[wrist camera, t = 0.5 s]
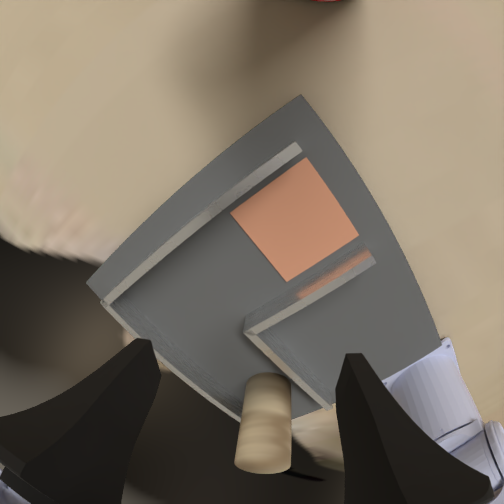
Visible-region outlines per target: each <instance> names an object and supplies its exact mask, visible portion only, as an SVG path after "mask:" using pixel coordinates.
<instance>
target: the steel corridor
mask: <svg viewBox="0 0 504 504" xmlns="http://www.w3.org/2000/svg"><path fill="white" fill-rule="evenodd" d="M301 152H302V149H301V148H300V147H299V145H298V144H297V143H296V141H294V140H293V141H292V142H290V143H289V144H287V145H286V146H285V147H283V148H282V149H281V150H279V151H278V152H276V153H275V154H274V155H272V156H271V157H270V158H268V159H267V160H266V161H264V162H263V163H262V164H260V165H259V166H258V167H256V168H255V169H254V170H252V171H251V172H250V173H248V174H247V175H246V176H244V177H243V178H242V179H240V180H239V181H238V182H237V183H235V184H234V185H233V186H231V187H230V188H229V189H228V190H226V191H225V192H224V193H222V194H221V195H220V196H219V197H217V198H216V199H215V200H214V201H212V202H211V203H210V204H209V205H208V206H206V207H205V208H204V209H203V210H201V211H200V212H199V213H198V214H196V215H195V216H194V217H193V218H192V219H190V220H189V221H188V222H187V223H186V224H184V225H183V226H182V227H181V228H180V229H179V230H177V231H176V232H175V233H174V234H173V235H171V236H170V237H169V238H168V239H167V240H166V241H164V242H163V243H162V244H161V245H160V246H159V247H158V248H156V249H155V250H154V251H153V252H152V253H151V254H150V255H149V256H147V257H146V258H145V259H144V260H143V261H142V262H141V263H140V264H138V265H137V266H136V267H135V268H134V269H133V270H132V271H131V272H130V273H129V274H127V275H126V276H125V277H124V278H123V279H122V280H121V281H120V282H119V283H118V284H117V285H116V286H115V287H113V288H112V289H111V291H110V292H109V293H108V294H107V295H106V296H105V297H104V298H103V299H102V301H101V302H100V303H101V304H102V306H103V307H104V308H105V309H106V310H107V311H108V312H109V313H110V314H111V315H112V316H113V317H114V318H115V319H116V320H117V321H118V322H119V323H120V324H121V325H122V326H123V327H124V328H125V329H126V330H127V331H128V332H129V333H130V334H131V335H132V336H133V337H134V338H135V339H136V338H142V339H149V340H151V342H152V345H153V349H154V353H155V356H156V358H157V359H158V360H159V361H160V362H162V363H163V364H164V365H165V366H166V367H167V368H169V369H170V370H171V371H172V372H173V373H175V374H176V375H177V376H178V377H179V378H181V379H182V380H183V381H185V382H186V383H187V384H188V385H189V386H191V387H192V388H193V389H194V390H196V391H197V392H198V393H200V394H201V395H202V396H204V397H205V398H206V399H207V400H209V401H210V402H211V403H213V404H214V405H216V406H217V407H218V408H220V409H221V410H223V411H224V412H225V413H227V414H228V415H230V416H231V417H233V418H234V419H236V420H237V421H238V422H240V423H241V417H242V410H243V403H244V402H243V401H241V400H240V399H239V398H238V397H236V396H235V395H234V394H232V393H231V392H230V391H229V390H227V389H226V388H225V387H224V386H222V385H221V384H220V383H219V382H217V381H216V380H215V379H214V378H212V377H211V376H210V375H209V374H208V373H206V372H205V371H204V370H203V369H202V368H201V367H199V366H198V365H197V364H196V363H195V362H194V361H192V360H191V359H190V358H189V357H188V356H187V355H186V354H184V353H183V352H182V351H181V350H180V349H179V348H178V347H177V346H176V345H175V344H173V343H172V342H171V341H170V340H169V339H168V338H167V337H166V336H165V335H164V334H163V333H162V332H161V331H160V330H159V329H158V328H157V327H155V326H154V325H153V324H152V323H151V322H150V321H149V320H148V319H147V318H146V317H145V316H144V315H143V314H142V313H141V312H140V311H139V310H138V309H137V308H136V306H135V305H134V304H133V303H132V302H131V301H130V300H129V299H128V298H127V297H126V296H125V295H124V294H123V292H124V291H125V290H126V289H128V288H129V287H130V286H131V285H132V284H133V283H135V282H136V281H137V280H138V279H139V278H140V277H141V276H143V275H144V274H145V273H146V272H147V271H149V270H150V269H151V268H152V267H153V266H154V265H156V264H157V263H158V262H159V261H160V260H162V259H163V258H164V257H165V256H166V255H168V254H169V253H170V252H171V251H172V250H174V249H175V248H176V247H177V246H178V245H180V244H181V243H182V242H183V241H185V240H186V239H187V238H188V237H190V236H191V235H192V234H193V233H195V232H196V231H197V230H198V229H199V228H201V227H202V226H203V225H205V224H206V223H207V222H208V221H210V220H211V219H212V218H213V217H215V216H216V215H217V214H219V213H220V212H221V211H222V210H224V209H225V208H226V207H228V206H229V205H230V204H231V203H233V202H234V201H235V200H237V199H238V198H239V197H241V196H242V195H243V194H245V193H246V192H247V191H249V190H250V189H251V188H253V187H254V186H255V185H257V184H258V183H259V182H261V181H262V180H263V179H265V178H266V177H267V176H269V175H270V174H271V173H273V172H274V171H276V170H277V169H278V168H280V167H281V166H282V165H284V164H285V163H287V162H288V161H289V160H291V159H292V158H294V157H295V156H296V155H298V154H299V153H301ZM374 264H376V261H375V259H374V257H373V256H372V254H371V253H370V251H369V250H368V248H367V247H366V245H365V244H364V242H363V243H361V244H360V245H358V246H357V247H355V248H353V249H352V250H350V251H349V252H347V253H346V254H344V255H343V256H341V257H340V258H338V259H337V260H335V261H333V262H332V263H330V264H329V265H327V266H326V267H324V268H323V269H321V270H319V271H318V272H316V273H315V274H313V275H311V276H310V277H308V278H307V279H305V280H303V281H302V282H300V283H298V284H297V285H295V286H294V287H292V288H290V289H289V290H287V291H285V292H284V293H282V294H280V295H279V296H277V297H275V298H274V299H272V300H270V301H269V302H267V303H265V304H264V305H262V306H260V307H259V308H257V309H255V310H253V311H252V312H250V313H248V314H247V315H246V318H245V324H244V329H243V333H244V334H245V335H246V336H247V337H248V338H249V339H250V340H251V341H252V342H253V343H254V344H255V345H256V346H257V347H258V348H259V349H260V350H261V351H262V352H263V353H264V354H265V355H266V356H267V357H269V358H270V359H271V360H272V361H273V362H274V363H275V364H276V365H277V366H278V367H279V368H280V369H281V370H282V371H283V372H284V373H285V374H287V375H288V376H289V377H290V378H291V379H292V380H293V381H294V382H295V383H296V384H297V385H299V386H300V387H301V388H302V389H303V390H304V391H305V392H306V393H307V394H308V395H310V396H311V397H312V398H313V399H314V400H315V401H316V402H318V403H319V404H320V405H321V406H322V407H323V408H324V409H326V410H330V409H332V408H333V405H332V397H331V391H330V390H329V389H328V388H327V387H326V386H325V385H324V384H323V383H322V382H321V381H320V380H319V379H318V378H317V377H316V376H315V375H314V374H313V373H312V372H311V371H310V370H309V369H308V368H307V367H306V366H305V365H304V364H303V363H302V362H301V361H300V360H299V359H298V358H297V357H296V356H295V355H294V354H293V353H292V352H291V351H290V350H289V349H288V347H287V346H286V345H285V344H284V343H283V342H282V341H281V340H280V339H279V338H278V337H277V336H276V335H275V334H274V333H273V332H272V331H271V330H270V329H269V327H270V326H272V325H274V324H276V323H278V322H280V321H281V320H283V319H285V318H287V317H288V316H290V315H292V314H294V313H296V312H297V311H299V310H301V309H303V308H304V307H306V306H308V305H309V304H311V303H313V302H315V301H316V300H318V299H320V298H321V297H323V296H325V295H326V294H328V293H330V292H331V291H333V290H335V289H336V288H338V287H339V286H341V285H343V284H344V283H346V282H347V281H349V280H351V279H352V278H354V277H355V276H357V275H359V274H360V273H362V272H363V271H365V270H366V269H368V268H369V267H371V266H373V265H374Z"/></svg>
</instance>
